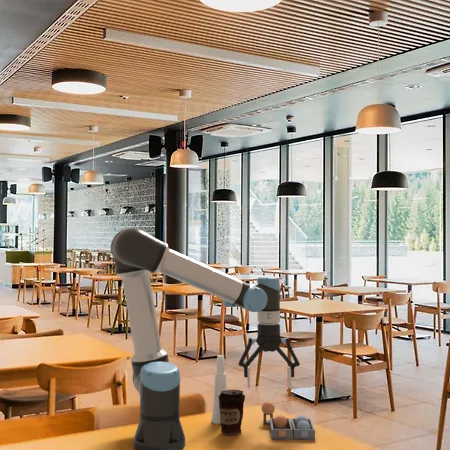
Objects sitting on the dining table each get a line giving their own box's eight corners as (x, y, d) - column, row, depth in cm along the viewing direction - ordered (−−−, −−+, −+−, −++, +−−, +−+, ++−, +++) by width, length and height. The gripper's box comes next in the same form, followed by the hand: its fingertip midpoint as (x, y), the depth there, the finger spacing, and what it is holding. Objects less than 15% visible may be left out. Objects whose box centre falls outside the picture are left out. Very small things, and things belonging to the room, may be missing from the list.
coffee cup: (242, 438, 188) (242, 395, 188) (215, 436, 189) (215, 394, 190) (246, 429, 196) (247, 388, 197) (221, 427, 198) (221, 387, 198)
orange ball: (261, 416, 201) (261, 403, 201) (261, 412, 206) (261, 399, 206) (275, 416, 201) (275, 403, 201) (274, 413, 206) (274, 399, 206)
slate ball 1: (295, 431, 194) (295, 417, 194) (294, 427, 198) (294, 413, 198) (309, 431, 193) (309, 417, 193) (307, 427, 198) (307, 413, 198)
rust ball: (273, 431, 194) (273, 417, 194) (273, 426, 198) (273, 413, 198) (287, 431, 194) (287, 417, 194) (286, 427, 198) (286, 413, 198)
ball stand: (263, 424, 202) (263, 415, 202) (263, 421, 205) (263, 412, 205) (273, 424, 202) (273, 415, 202) (272, 421, 205) (272, 412, 205)
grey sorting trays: (271, 439, 187) (271, 429, 187) (269, 427, 199) (270, 418, 199) (315, 440, 186) (315, 430, 186) (310, 427, 199) (310, 418, 199)
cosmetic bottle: (232, 421, 205) (233, 355, 206) (220, 425, 201) (221, 357, 201) (219, 417, 209) (219, 353, 210) (207, 421, 205) (207, 355, 205)
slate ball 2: (297, 437, 188) (297, 423, 188) (295, 433, 192) (295, 418, 192) (311, 437, 187) (311, 423, 188) (309, 433, 192) (309, 419, 192)
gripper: (231, 324, 201) (231, 389, 200) (307, 324, 200) (307, 390, 200) (231, 321, 208) (231, 384, 208) (305, 321, 208) (305, 384, 207)
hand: (269, 387), depth 204 cm, fingers open, 13 cm apart
